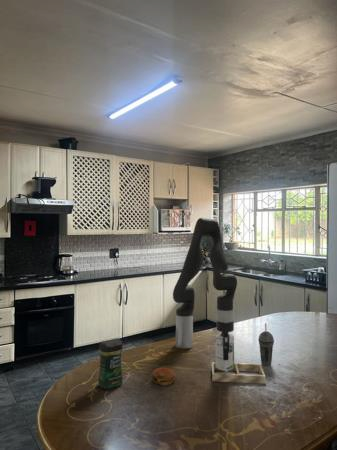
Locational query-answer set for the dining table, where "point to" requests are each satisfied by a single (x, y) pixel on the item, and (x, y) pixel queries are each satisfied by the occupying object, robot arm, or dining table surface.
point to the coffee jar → (110, 363)
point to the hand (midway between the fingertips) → (225, 356)
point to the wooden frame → (237, 376)
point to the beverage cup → (266, 347)
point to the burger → (163, 376)
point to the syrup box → (221, 363)
